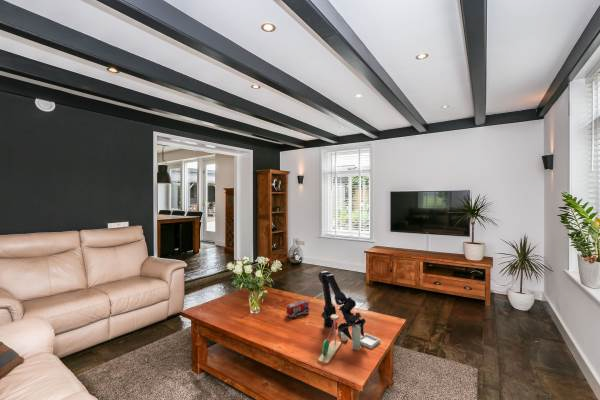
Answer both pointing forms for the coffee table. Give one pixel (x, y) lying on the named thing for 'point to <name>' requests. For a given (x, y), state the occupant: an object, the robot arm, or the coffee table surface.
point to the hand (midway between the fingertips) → (357, 338)
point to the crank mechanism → (330, 345)
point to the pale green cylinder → (356, 337)
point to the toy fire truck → (298, 308)
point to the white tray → (369, 340)
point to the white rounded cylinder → (343, 337)
